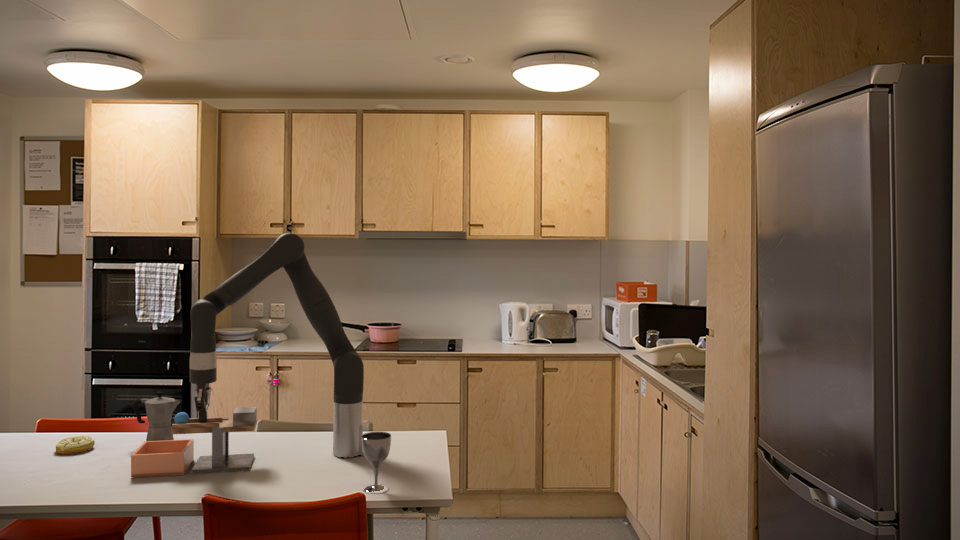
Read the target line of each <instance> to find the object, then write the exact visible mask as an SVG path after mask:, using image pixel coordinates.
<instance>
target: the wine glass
mask: <svg viewBox="0 0 960 540" xmlns="http://www.w3.org/2000/svg"><path fill="white" fill-rule="evenodd" d="M391 446H392V435H391V433H389V432H386V431H370V432H367V433H363V435H362V448H363V452H362V454H363V457H365V459H366V460H367V461H368V462H369V464H370V465H371V467H372V469H373V474H374V484H370V486H369V485H366V486H367V487H366V486H365V487H366V488H365V489H364V490H363V489H362V490H363V492H364V493H366V492H372V491H373V492H374V491H380V490H383V489H384V486H382V485H383V484H380V485H378V484H379V483H378V481H379V480H378V477H379V471H380V467H381V465H382V464H383V463H384V462H385V461H386V459H387V458H388V457H389V455H390V451H391Z"/></svg>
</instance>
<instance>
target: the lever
mask: <svg viewBox="0 0 960 540" xmlns="http://www.w3.org/2000/svg"><path fill="white" fill-rule="evenodd" d="M257 410H258V407H257V406H245V407H244V406H243V407H242V406H241V407H235V409H234V411H233V413H232V419H229V420H223V421H222V418H223V417H222V416H220V417H218V416H217V417H207V423H199V417H193V418H190V417H189V421H188V422H187V423H185V424H176V423H171V427H172V429H171V434H173V435H191V434H212V428H213V427H223V432H229V433H237V432H238V433H240V432H254V431H255V429H256V426H257V424H258V419H257V418H258V417H257V415H258V411H257Z"/></svg>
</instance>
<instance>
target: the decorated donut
mask: <svg viewBox="0 0 960 540" xmlns="http://www.w3.org/2000/svg"><path fill="white" fill-rule="evenodd" d="M95 443H96V442H95V438H93V437H92V436H89V435H88V436H87V435H75V436H71V437H70V436H69V437H66V438H63V439H62V440H59V441H58V442H57V443H56V444H55V452H56V453H57V454H58V453H60V454H59V455H72V454H71V453H76V454H79V452H80V453H85V452H87V450H88V451H91V448H92V449H93V447H94V445H95ZM84 451H85V452H84Z"/></svg>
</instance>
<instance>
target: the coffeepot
mask: <svg viewBox="0 0 960 540" xmlns="http://www.w3.org/2000/svg"><path fill="white" fill-rule="evenodd" d="M156 393H157V397H153V398H136V399H135V400H134V402H132V409H133V410H134V411H133V412H134V413H135V416H136V419H137V422H138V424H145V423H146V420H147V422H148V427H147V434H146V439H145V440H146V441H163V440H175V439H174V434H171V429H172V419H173V413H174V411H175V409H176V408H177V406H178V405H179V404H180V403H181V401H180V400H178V399H175V398H173V397H166V396H162V395H163V391H157V392H156ZM139 405H142V406H145V411H146V412H145V413H146V417H147V419H146V420H143V419H142V414H141V411H140V407H139Z"/></svg>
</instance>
